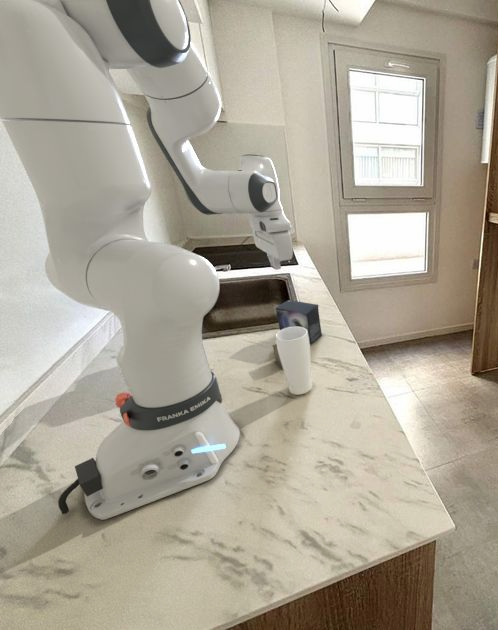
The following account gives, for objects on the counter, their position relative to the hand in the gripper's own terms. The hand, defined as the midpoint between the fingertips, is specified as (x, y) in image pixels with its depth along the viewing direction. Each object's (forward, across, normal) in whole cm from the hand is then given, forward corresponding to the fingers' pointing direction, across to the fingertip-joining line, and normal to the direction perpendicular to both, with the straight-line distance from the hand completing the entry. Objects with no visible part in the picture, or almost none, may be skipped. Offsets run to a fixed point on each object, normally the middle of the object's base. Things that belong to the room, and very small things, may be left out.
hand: (276, 268), depth 97 cm
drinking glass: (+20, +32, -10) cm, 39 cm away
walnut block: (+20, +19, -7) cm, 28 cm away
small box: (+20, +9, +1) cm, 22 cm away
